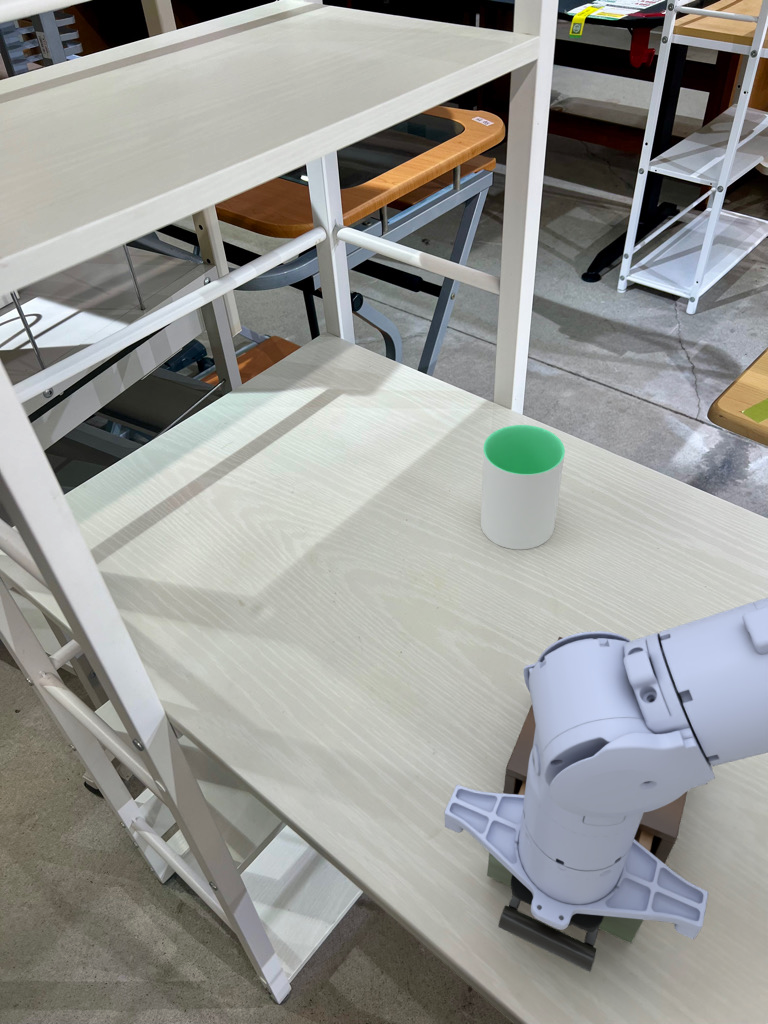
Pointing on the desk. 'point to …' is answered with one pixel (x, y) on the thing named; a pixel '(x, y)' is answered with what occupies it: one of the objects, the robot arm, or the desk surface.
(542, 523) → the mug
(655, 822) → the cabinet
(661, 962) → the desk surface
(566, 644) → the robot arm
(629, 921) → the drawer
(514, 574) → the desk surface
